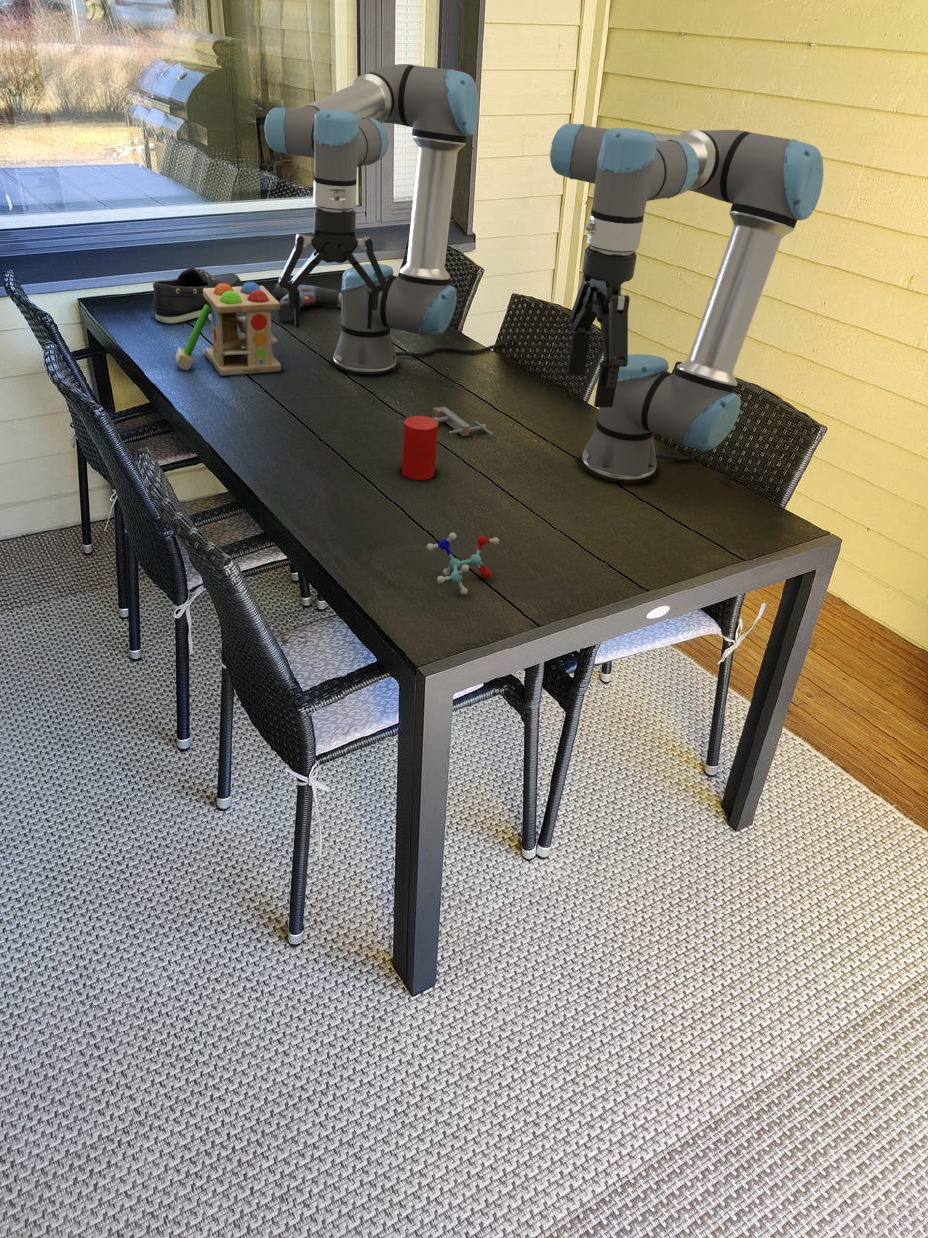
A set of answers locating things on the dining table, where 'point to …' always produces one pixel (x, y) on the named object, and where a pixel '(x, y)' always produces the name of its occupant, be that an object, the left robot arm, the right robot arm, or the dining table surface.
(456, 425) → the clamp
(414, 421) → the red cylinder
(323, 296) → the power drill
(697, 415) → the right robot arm
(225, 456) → the dining table surface
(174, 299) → the boat shoe
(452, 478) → the dining table surface
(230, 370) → the pounding bench toy
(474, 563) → the molecular model
